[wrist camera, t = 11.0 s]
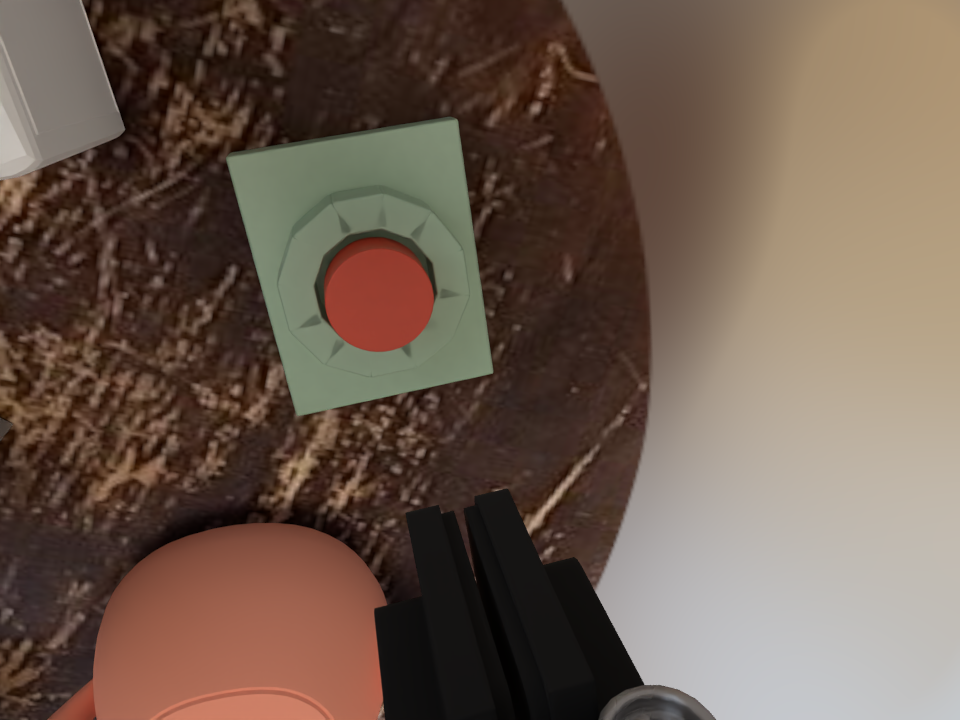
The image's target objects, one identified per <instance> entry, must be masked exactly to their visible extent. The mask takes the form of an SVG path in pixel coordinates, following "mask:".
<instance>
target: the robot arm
mask: <svg viewBox="0 0 960 720" xmlns="http://www.w3.org/2000/svg"><path fill="white" fill-rule="evenodd" d="M474 499H475V506H471V507H467V508H464V515H465V521H466V526H467V532H468V538H469V543H470V549H471V555H472V560H473V566H474V572H475V577H476V581H475V578H474V574H473V571H472V568H471V565H470V562H469V558H468V555H467V552H466V549H465V545H464V542H463V539H462V536H461V533H460V529H459V526H458V523H457V520H456V516H455V513H454V511H450V512H446V513H442V514H441V511H440V508H439V505H436V506H432V507H428V508H424V509H420V510H415V511H411V512H407V513H406V518H407V523H408V528H409V533H410V538H411V543H412V548H413V553H414V558H415V563H416V568H417V573H418V578H419V583H420V588H421V593H422V596H421V597H417V598H413V599H409V600H405V601H401V602H397V603H393V604H389V605H386V606H382V607H378V608H374V617H375V627H376V636H377V646H378V655H379V665H380V674H381V684H382V693H383V703H384V712H385V720H716V719H715V718H714V717H713V715H712V714H711V713H710V712H709V711H708V710H707V709H706V708H705V707H704V706H703V705H702V704H701V703H700V702H698V701H697V700H696V699H695V698H693V697H691V696H689V695H688V694H686V693H684V692H681V691H680V690H677V689H673V688H669V687H665V686H661V685H644V683H643V681H642V679H641V678H640V675H639V673H638V672H637V670H636V668H635V666H634V664H633V662H632V660H631V658H630V657H629V655H628V653H627V651H626V649H625V647H624V645H623V643H622V641H621V640H620V638H619V636H618V634H617V632H616V631H615V628H614V626H613V625H612V623H611V621H610V619H609V617H608V615H607V613H606V611H605V610H604V608H603V606H602V604H601V602H600V600H599V598H598V596H597V594H596V593H595V591H594V589H593V587H592V585H591V583H590V581H589V579H588V578H587V576H586V574H585V572H584V570H583V568H582V566H581V565H580V563H579V562H578V560H577V559H576V558H574V557H573V558H569V559H565V560H561V561H557V562H553V563H549V564H545V565H543V564H542V562H541V560H540V558H539V556H538V553H537V551H536V549H535V547H534V545H533V542H532V540H531V538H530V536H529V534H528V531H527V529H526V527H525V525H524V523H523V520H522V518H521V516H520V514H519V512H518V510H517V507H516V505H515V503H514V501H513V499H512V496H511V494H510V492H509V490H508V489H503V490H499V491H495V492H491V493H486V494H482V495H478V496H475V498H474ZM476 583H477V584H476Z"/></svg>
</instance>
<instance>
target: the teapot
mask: <svg viewBox="0 0 960 720" xmlns="http://www.w3.org/2000/svg"><path fill="white" fill-rule="evenodd" d="M386 605H387V602H386V599H385V596H384V593H383V591H382V589H381V587H380V585H379V583H378V581H377V579H376V578H375V576H374V575H373V574H372V572H371V571H370V569H369V568H368V566H367V565H366V563H365V562H364V561H363V560H362V559H361V558H360V557H359V556H358V555H357V554H356V553H355V552H354V551H353V550H352V549H350V548H349V547H348V546H347V545H345V544H344V543H343V542H341V541H339V540H337V539H336V538H334V537H332V536H330V535H328V534H325V533H323V532H320V531H317V530H315V529H312V528H307V527H303V526H299V525H293V524H283V523H249V524H238V525H231V526H225V527H220V528H214V529H210V530H207V531H203V532H199V533H196V534H192V535H189V536H186V537H183V538H181V539H178V540H176V541H173V542H170V543H168V544H166V545H164V546H163V547H161V548H159V549H157V550H155V551H153V552H152V553H151V554H149V555H148V556H147V557H145V558H144V559H143V560H141V561H140V562H139V563H138V564H137V565H136V566H135V567H134V568H133V569H132V570H131V571H130V572H129V573H128V574H127V575H126V576H125V577H124V578H123V579H122V580H121V582H120V583H119V584H118V586H117V587H116V589H115V590H114V592H113V593H112V595H111V598H110V600H109V602H108V604H107V606H106V609H105V612H104V615H103V619H102V622H101V625H100V629H99V632H98V636H97V642H96V650H95V658H94V666H93V679H92V680H90V681H89V682H88V683H87V684H86V685H85V686H84V687H82V688H81V689H80V690H79V691H78V692H77V693H76V694H74V695H73V696H72V697H71V698H70V699H69V700H68V701H67V702H66V703H64V704H63V705H62V706H61V707H60V708H59V709H58V710H57V711H56V712H55V713H54V714H52V715H51V716H50V717H49V718H48V719H47V720H93V719H94V717H95V716H96V718H97V720H377V718H378V715H379V712H380V708H381V705H382V702H383V693H382V684H381V674H380V665H379V655H378V646H377V636H376V627H375V617H374V608H378V607H382V606H386Z"/></svg>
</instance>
